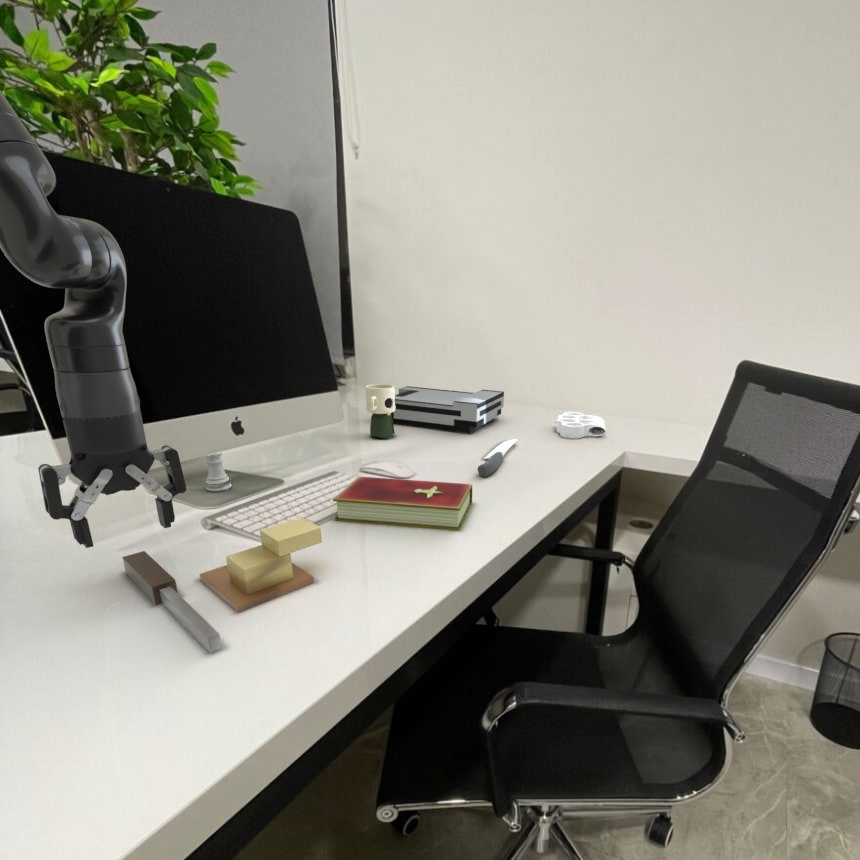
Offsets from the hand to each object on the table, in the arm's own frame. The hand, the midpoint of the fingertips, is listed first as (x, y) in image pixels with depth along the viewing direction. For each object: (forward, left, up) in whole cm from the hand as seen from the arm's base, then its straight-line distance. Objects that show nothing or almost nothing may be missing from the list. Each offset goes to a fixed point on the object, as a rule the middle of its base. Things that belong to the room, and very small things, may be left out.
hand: (128, 535), depth 69 cm
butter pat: (+15, -13, -2) cm, 20 cm away
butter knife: (+1, -10, -7) cm, 12 cm away
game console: (+89, +41, -7) cm, 99 cm away
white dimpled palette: (+110, +7, -7) cm, 111 cm away
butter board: (+10, -11, -7) cm, 17 cm away
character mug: (+66, +37, -7) cm, 76 cm away
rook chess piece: (+21, +27, -7) cm, 35 cm away
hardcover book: (+39, -6, -7) cm, 40 cm away
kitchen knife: (+75, +5, -7) cm, 75 cm away
